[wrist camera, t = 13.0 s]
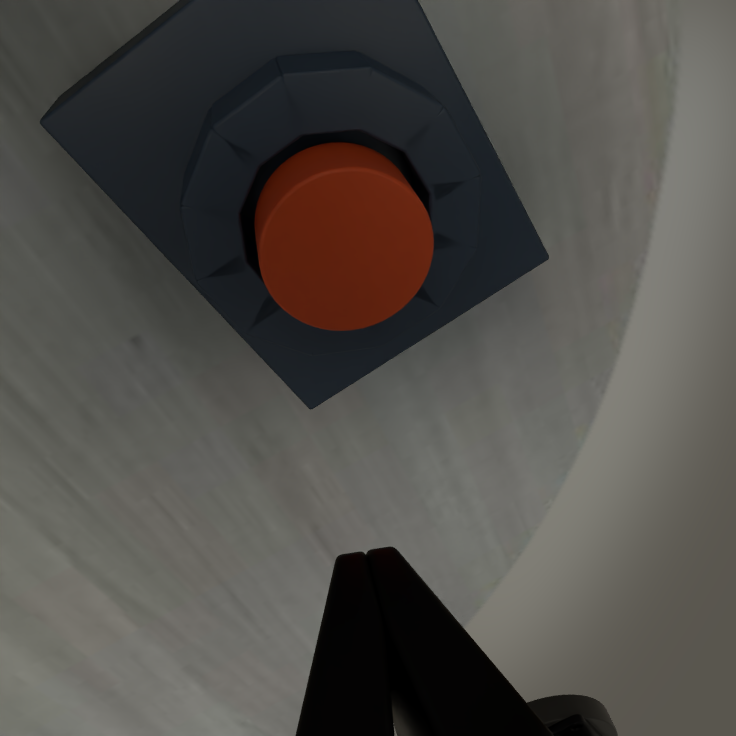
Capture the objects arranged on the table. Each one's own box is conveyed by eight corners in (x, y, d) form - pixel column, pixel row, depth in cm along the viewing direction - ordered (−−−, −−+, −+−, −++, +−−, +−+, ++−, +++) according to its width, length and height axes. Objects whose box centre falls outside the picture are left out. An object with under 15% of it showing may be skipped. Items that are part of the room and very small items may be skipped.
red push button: (442, 237, 16) (464, 270, 14) (316, 321, 16) (325, 360, 15) (360, 105, 14) (376, 128, 12) (219, 206, 14) (219, 239, 13)
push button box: (521, 227, 20) (579, 289, 17) (302, 369, 22) (318, 451, 18) (335, -125, 15) (370, -133, 11) (56, 98, 16) (16, 147, 13)
